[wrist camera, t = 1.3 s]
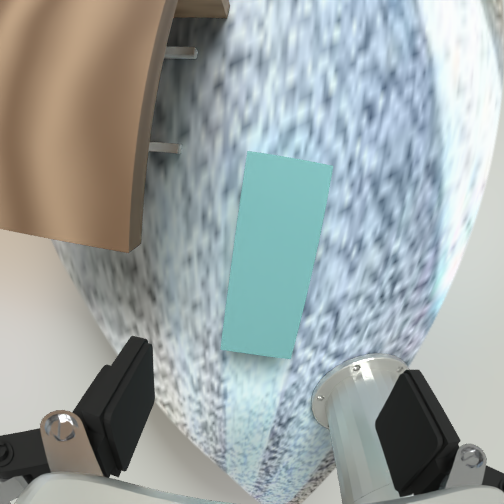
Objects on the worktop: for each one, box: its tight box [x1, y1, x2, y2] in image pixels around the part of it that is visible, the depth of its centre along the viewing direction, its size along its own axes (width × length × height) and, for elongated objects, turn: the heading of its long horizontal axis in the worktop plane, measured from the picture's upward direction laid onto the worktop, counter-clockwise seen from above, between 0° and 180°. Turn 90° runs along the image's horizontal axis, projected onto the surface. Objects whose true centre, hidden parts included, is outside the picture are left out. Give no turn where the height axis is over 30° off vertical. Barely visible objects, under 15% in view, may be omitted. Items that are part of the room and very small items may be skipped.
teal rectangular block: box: [221, 151, 333, 359], centre depth 25 cm, size 16×6×5 cm, turn 172°
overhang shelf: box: [0, 0, 230, 253], centre depth 17 cm, size 14×19×14 cm
